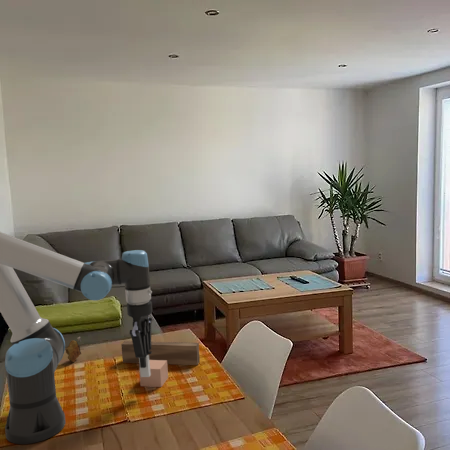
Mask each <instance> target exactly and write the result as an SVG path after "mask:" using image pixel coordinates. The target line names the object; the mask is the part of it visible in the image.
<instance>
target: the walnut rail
mask: <svg viewBox="0 0 450 450" xmlns="http://www.w3.org/2000/svg"><path fill="white" fill-rule="evenodd" d="M199 343H200V342H188V341H187V342H185V341H183V342H180V341H179V342H178V341H151V350H149V351H152V354H148V355H149V360H167V365H182V366H183V365H186V366H190V365H191V366H198V365H199V364H200V345H199ZM121 359H122V363H124V364H129V363H130V364H140V363H139V358H136V357H135V352H134V347H133V342H132V340H131V341H130V340H129V341H128V340H124V341H123V342H122V343H121Z"/></svg>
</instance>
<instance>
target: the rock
mask: <svg viewBox="0 0 450 450" xmlns="http://www.w3.org/2000/svg"><path fill="white" fill-rule="evenodd" d="M84 337H85V336H84ZM76 338H77V340H73V339H71V340H70V342H69V344H68V346H67V347H66V348H65V350H64V351H65V353H66V354H67V355H68V356H67V360H69V361H71V362H72V363H74V362H76V360H77V359H78V358H79V357H80V356H81V355H82V352H81V347H80V346H81V345H80V344H79V343H78V342H82V337H81V336H79V337H76Z"/></svg>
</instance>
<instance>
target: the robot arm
mask: <svg viewBox="0 0 450 450" xmlns="http://www.w3.org/2000/svg"><path fill="white" fill-rule="evenodd" d="M14 269H15V270H18V271H20V272H24V273H26V274H30V275H32V276H34V277H37V278H40V279H43V280H46V281H49V282H52V283H54V284H57V285H61V286H63V287H66V288H69V289H71V290H75V291H77V292H80V293H82V295H83V296H84V297H85V298H86V299H88V300H90V301H100V300H103V299H104V298H106V296H107V295H109V293H110V291H111V290H112V286H115V285H124V291H125V302H126V303H127V304H126V312H127V316H128V317H131V318H132V327H133V328H132V329H130V330H129V335H130V337H131V341H132V342H133V347H134V352H135V357H136V358H139V363H138V364H139V368H140V371H139V375H140V374H141V377H150V375H151V372H150V361H149V355H148V354H152V351H149V350H151V342H152V321H153V319H152V318H153V317H149V316H150V315H151V314H152V313H153V302H152V301H151V300H152V294H153V291H152V290H151V280H150V278H151V277H150V276H151V275H150V265H149V258H148V253H147V252H146V250H142V249H135V250H127V251H123V252H122V253H121V258H118V259H107V260H97V261H95V260H93V261H87V262H83V261H80V260H77V259H75V258H71V257H69V256H66V255H65V254H64V255H63V254H60V253H59V252H56V251H53V250H50V249H48V248H45V247H42V246H39V245H36V244H34V243H31V242H29V241H26V240H23V239H21V238H18V237H15V236H12V235H10V234H7V233H4V232H2V231H0V313H1V316H2V317H3V320H4V321H5V323H6V324H7V325H8V328H9V329H10V331H11V333H12V334H11V337H10V343H11V346H10V347H9V348H8V349H7V350H6V353H5V360H4V364H5V365H4V367H5V370H6V371H5V372H6V382H7V389H8V391H7V392H8V400H9V409H8V415H7V418H6V423H5V427H4V429H5V430H4V432H5V437H6V438H5V439H6V440H7V441H8V442H10V443H12V444H16V445H29V444H35V443H39V442H42V441H45V440H48V439H50V438H52V437H53V436H56V435H58V434H59V433H60V432H61V431H63V429H64V427H65V425H66V414H65V412H64V410H63V408H62V406H61V403H60V401H59V400H58V397H57V391H56V389H57V388H56V381H55V380H56V379H55V378H56V377H55V372H56V370H57V368H58V366H59V363H60V362H61V361H62V359H63V357H64V354H65V351H66V350H65V349H66V342H65V338H64V336H63V334H62V333H61V332H60V330H58V329H57V328H55V327H53V326H52V324H51V322H50V320H49V319H47V318H43V317H41V316H40V313H39V312H38V310H37V308H36V306H35V305H34V303H33V301H32V299H31V298H30V296H29V294H28V292H27V291H26V288H24V285H23V284H22V282H21V280H20V278H19V277H18V275H17V273H16V271H15V270H14Z"/></svg>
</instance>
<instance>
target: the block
mask: <svg viewBox="0 0 450 450" xmlns="http://www.w3.org/2000/svg"><path fill="white" fill-rule="evenodd" d="M149 361H150V372H151V375H150V377H141V374H140V373H139V384H140V387H153V388H161V387H163V386H164V384H165V383H166V381H167V380H168V379H169V371H168V370H169V369H168V364H167V360H149ZM138 371H139V372H140V367H139V370H138Z"/></svg>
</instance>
